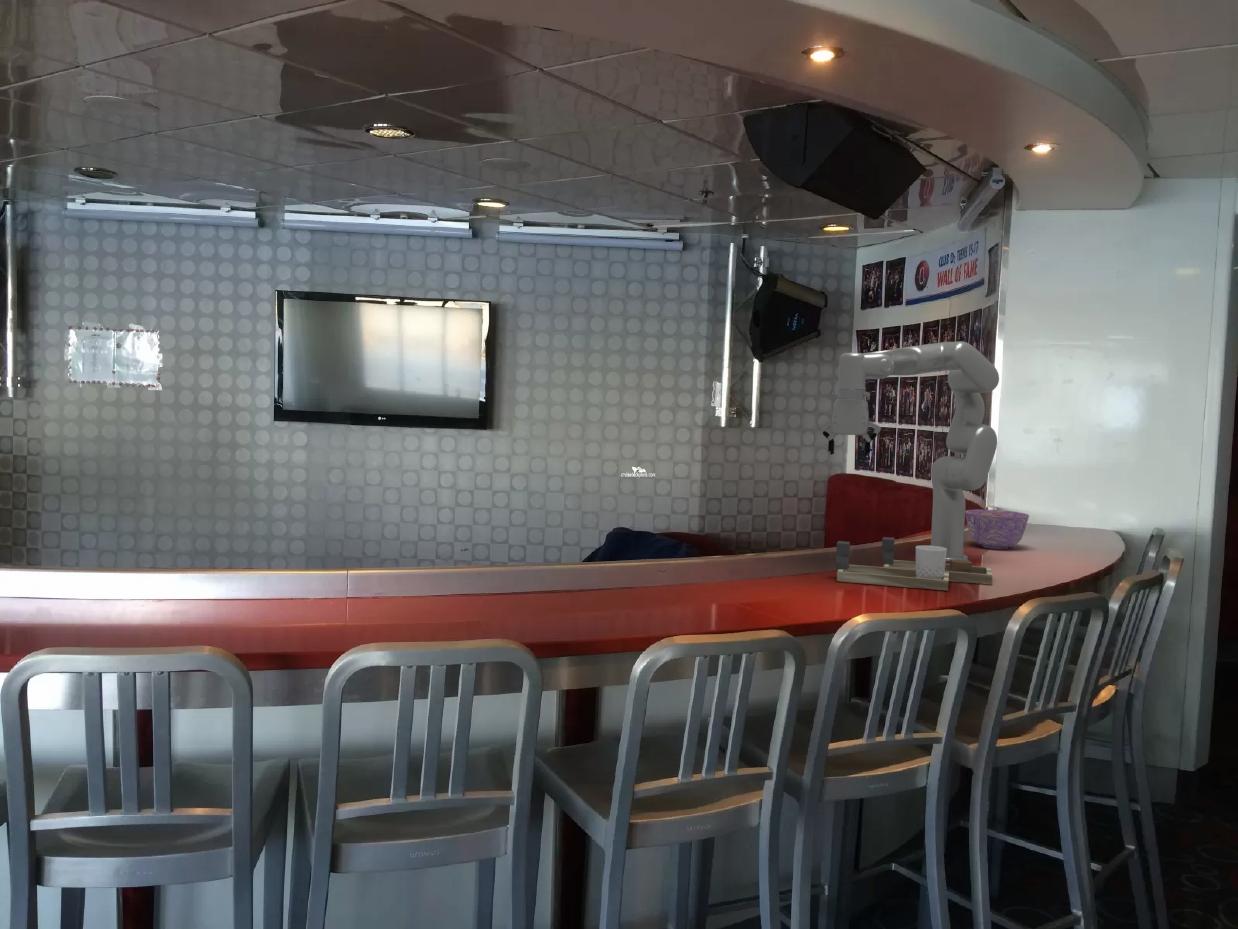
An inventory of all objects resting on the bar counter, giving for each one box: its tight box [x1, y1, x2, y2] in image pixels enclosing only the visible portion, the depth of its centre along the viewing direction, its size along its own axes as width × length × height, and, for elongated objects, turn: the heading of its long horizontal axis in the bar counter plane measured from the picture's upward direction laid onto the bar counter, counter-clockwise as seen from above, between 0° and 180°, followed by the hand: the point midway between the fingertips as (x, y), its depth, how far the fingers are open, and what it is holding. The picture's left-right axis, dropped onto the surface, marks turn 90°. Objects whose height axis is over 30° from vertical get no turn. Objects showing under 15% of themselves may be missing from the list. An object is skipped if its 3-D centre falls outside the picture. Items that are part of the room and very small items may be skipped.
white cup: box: [915, 545, 947, 580], centre depth 257 cm, size 8×8×10 cm
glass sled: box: [835, 540, 950, 592], centre depth 260 cm, size 13×29×10 cm, turn 71°
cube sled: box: [881, 536, 993, 585], centre depth 270 cm, size 13×29×10 cm, turn 71°
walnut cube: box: [949, 559, 973, 573], centre depth 268 cm, size 5×5×5 cm
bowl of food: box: [965, 509, 1030, 550], centre depth 326 cm, size 20×20×12 cm
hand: (848, 454), depth 283 cm, fingers open, 9 cm apart
